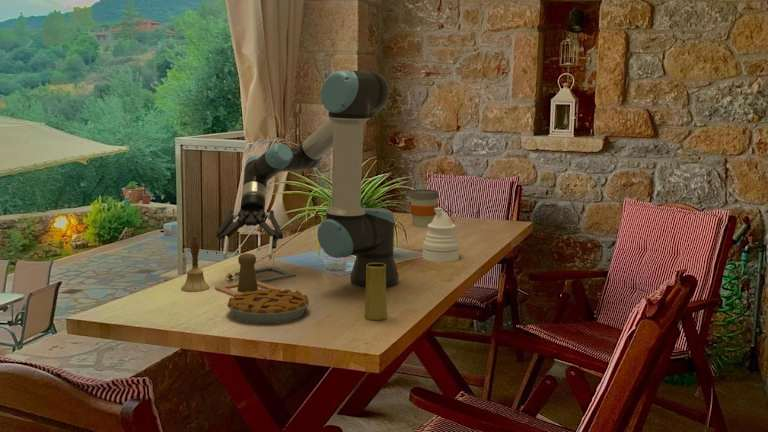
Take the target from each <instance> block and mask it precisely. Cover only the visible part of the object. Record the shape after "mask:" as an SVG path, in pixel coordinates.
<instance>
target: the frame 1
mask: <svg viewBox="0 0 768 432" xmlns="http://www.w3.org/2000/svg"><path fill="white" fill-rule="evenodd" d="M257 286H258V288H261V289H264V290H270V289H271V288H272V289H277V290H281V288H279V287H276V286H273V285H271V284H268V283H266V282H259V281H257ZM234 288H238V282H236V283H231V284H225V285H219V286H214V289H215V290H216V291H219V292H221V293H223V294H225V295H229V296H231V297H232V298H233V297H234V295H235V294H241V292H240V293H239V292H238V291H235V290H231V289H234Z"/></svg>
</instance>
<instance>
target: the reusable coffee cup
mask: <svg viewBox="0 0 768 432" xmlns="http://www.w3.org/2000/svg"><path fill="white" fill-rule="evenodd" d="M409 199H410V204H409V208H410V214H411V216H412V226H413V227H416V228H428V226H427V225H428V224H430V223H431V222H432V220H433V219H434V217H435V216H436V214H437V213H436V212H435V209H434V208H439V207H438V205H439V204H438V199H440V198H439V191H438V190H435V189H423V188H422V189H421V188H419V189H411V190H410V191H409Z"/></svg>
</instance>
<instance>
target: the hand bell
mask: <svg viewBox="0 0 768 432" xmlns="http://www.w3.org/2000/svg"><path fill="white" fill-rule="evenodd" d="M189 245H190V248H189V250H190V253H191V258H192V259H191V260H192V262H191V269H188V270H187V274H186V275H187V276H186V280H185V282H184V283H183V285H182V286H181V288H180V289H181V290H182V291H184V292H189V291H190V292H191V293H194V292H196V293H197V292H198V291H199V292H204V291H208V290H209V289H210V286H209V284H208V283H207V282H206V280H205V277H204V272H203V269H200V268H199V262H198V261H199V260H198V258H199V252H200V242H199V239H198V236H197V235H193V236H192V237H191V241H190V244H189ZM192 291H193V292H192ZM190 292H189V293H190Z"/></svg>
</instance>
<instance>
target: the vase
mask: <svg viewBox="0 0 768 432" xmlns="http://www.w3.org/2000/svg"><path fill="white" fill-rule="evenodd" d="M364 300H365V301H364V319H366V320H370V321H382V320H385V319H387V318H388V313H387V312H388V311H387V303H388V301H387V287H386V264H383V263H369V264H367V265H366V287H365V299H364Z"/></svg>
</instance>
